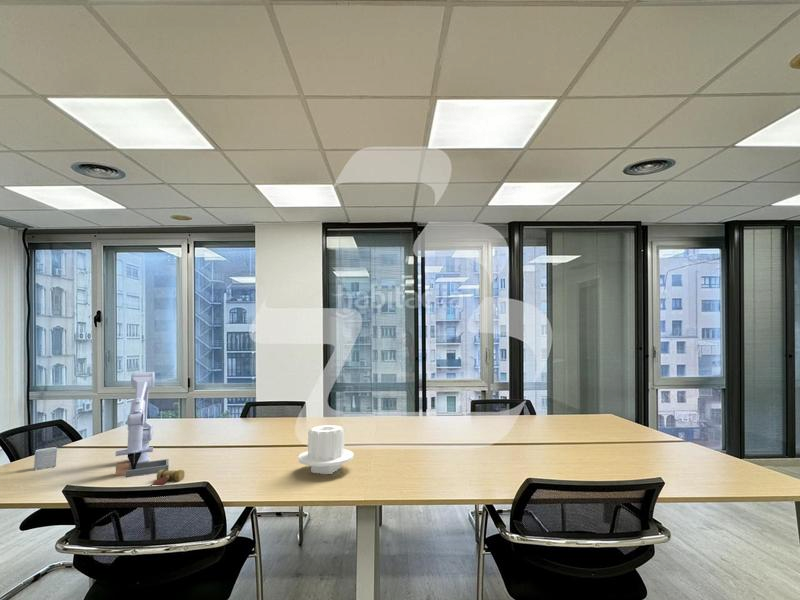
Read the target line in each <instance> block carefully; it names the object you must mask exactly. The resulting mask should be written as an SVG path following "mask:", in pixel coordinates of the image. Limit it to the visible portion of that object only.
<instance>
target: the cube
mask: <svg viewBox="0 0 800 600" xmlns="http://www.w3.org/2000/svg"><path fill="white" fill-rule="evenodd" d="M130 464H131V463H130V461H129V460H122V461H117V462H116V464H115V477H120V476H126V471H127V470H130Z"/></svg>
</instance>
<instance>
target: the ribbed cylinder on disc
mask: <svg viewBox="0 0 800 600" xmlns="http://www.w3.org/2000/svg"><path fill="white" fill-rule="evenodd" d="M297 459H298V463H300V464H302V465H304V466H310V467H311V473H312V474H313V473H314V474H319V473H320V474H319V475H327V474H331V475H332V474H334V473H335V471H336V472H337V471H339V470H340V469H341V465H342V464H347V463H349V462H350V461H352V460H353V459H354V452H353V451H351V450H349V449H345V428H344V427H342V426H341V425H333V424H332V425H331V424H326V425H324V424H323V425H317V426H314V427H313V426H312V427H311V428H310V429H308V431H307V451H303V452H301V453H300V454H299V455H298V457H297ZM338 469H339V470H338ZM333 472H334V473H333Z"/></svg>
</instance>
